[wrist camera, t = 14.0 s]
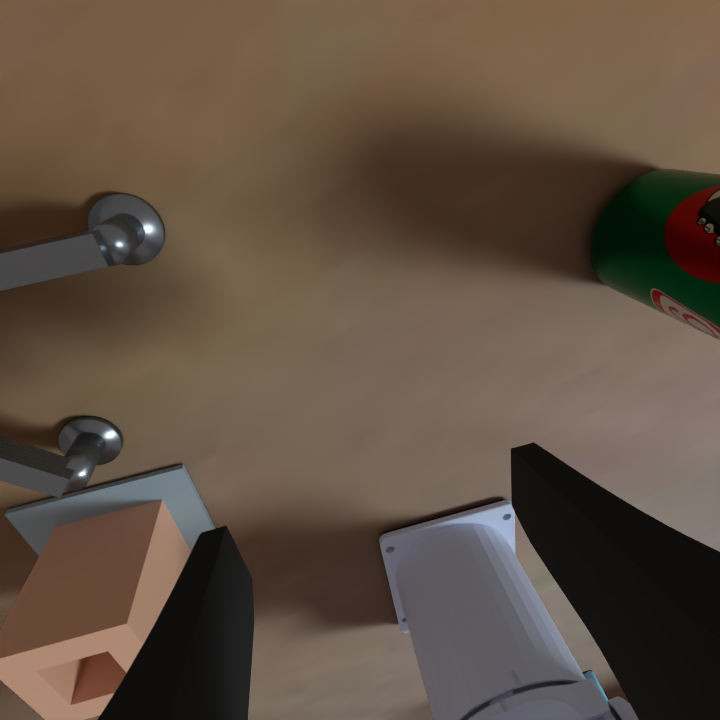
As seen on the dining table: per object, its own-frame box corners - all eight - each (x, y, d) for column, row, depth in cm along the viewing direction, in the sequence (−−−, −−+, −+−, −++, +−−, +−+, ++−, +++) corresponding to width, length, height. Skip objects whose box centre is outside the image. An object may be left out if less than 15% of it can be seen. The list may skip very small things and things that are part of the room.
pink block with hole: (199, 565, 23) (179, 692, 18) (103, 591, 23) (55, 727, 18) (162, 499, 21) (127, 623, 16) (54, 527, 21) (-19, 663, 15)
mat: (237, 570, 25) (236, 575, 24) (91, 611, 24) (89, 616, 24) (183, 464, 21) (182, 468, 20) (7, 509, 20) (4, 514, 20)
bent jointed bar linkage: (242, 424, 20) (238, 469, 18) (-1, 486, 19) (-42, 542, 17) (148, 186, 15) (123, 199, 13) (-185, 257, 14) (-286, 287, 12)
